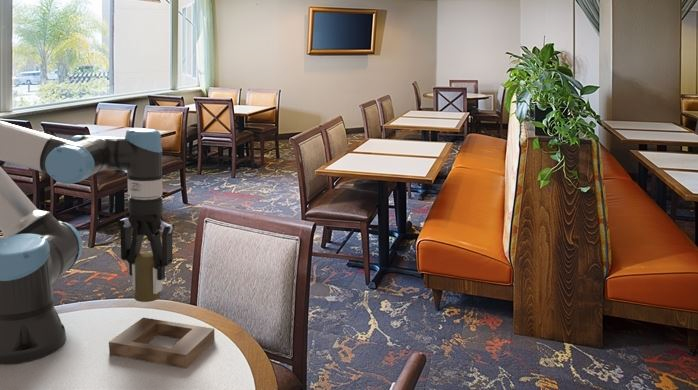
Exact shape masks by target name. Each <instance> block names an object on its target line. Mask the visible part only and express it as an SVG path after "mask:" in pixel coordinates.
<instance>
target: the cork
mask: <svg viewBox="0 0 698 390" xmlns="http://www.w3.org/2000/svg"><path fill="white" fill-rule="evenodd" d="M135 264H136V266H137V267H138V271H137V280H136V288H135V290H134V300H135V301H136V302H140V303H150V302H154V301H157V300H160V298H162V297H161V296H162V292H161V291H160V292H158V293H157V294H153V267H155V266H156V265H155V261H154V257H153V253H152V251H147V252H140V254H138V255H137V257H136V259H135Z"/></svg>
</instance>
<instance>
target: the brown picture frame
mask: <svg viewBox="0 0 698 390" xmlns="http://www.w3.org/2000/svg"><path fill="white" fill-rule="evenodd" d="M157 336H158V337H159V336H161V337H166V338H171V339H172V338H173V339H179V340H178V341H177V342H176V343H174V344H173V345H172V346H171V347H165V346H159V345H153V344H148V343H149V342H151V340H153V339H154V338H156V337H157ZM215 339H216V337H215V328H213V327H205V326H200V325H193V324H187V323H182V322H181V323H180V322H175V321H174V322H173V321H168V320H162V319H156V318H155V319H154V318H149V317H142V318H140V319H139V320H138V321H136V322H134V323H133V324H132V325H131V326H129V327H128V328H126V329H125V330H123V331H122V332H121V333H119V334H118V335H116V336H115V337H113V338H112V339H110V340H109V341H108V350H109V351H108V353H109V354H108V355H110V356H114V357H119V358H124V359H131V360H138V361H144V362H148V363H149V362H150V363H155V364H158V365H159V364H160V365H165V366H170V367H177V368H183V369H188V368H189V367H190V366H191V365H192V364H193V363H194V362H195V361H196V360H197V359H198V358H199V357H200V356H201V355H202V354H203V353H204V352H205V351H206V350H207V349H208V348H209V347H210V346H211V345H212V344H213V343H214V342H215Z"/></svg>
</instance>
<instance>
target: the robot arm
mask: <svg viewBox="0 0 698 390" xmlns="http://www.w3.org/2000/svg"><path fill="white" fill-rule="evenodd" d="M0 161H2V162H5V163H8V164H9V163H10V164H13V165H17V166H20V167H24V168H28V169H32V170H35V171H39V172H43V173H46V174H48V175H49V177H51V179H53V180H55V182H58V183H60V184H63V185H64V184H65V185H70V184H75V183H80V182H83V181H84V180H86V179H88V178H89V177H91V176H93V175H95V174H97V173H99V172H101V171H103V170H104V171H105V170H108V171H112V170H113V171H126V173H127V174H126V178H127V194H128V196H129V197H128V199H127V209H128V213H129V216H128V217H124V218H122V219H119V220H117V225H118V227H119V232H120V235H119V236H120V259H121V260H123V261H126V262H128V265H129V273H128V274H129V276H131V278H132V279H131V281H132V283H131V284H132V291H135V288H136V280H137V271H138V267H137V266H136V264H135V259H136V257H137V255H138V254H140V253H141V249H142V244H143V239H144V236H146V237H147V241H148V242H149V246H150V248H151V252H152V253H153V257H154V261H155V265H156V266H155V267H153V294H157V293H158V292H160V293H161V292H162V291H163V280H164V279H165V278H166V267H168V266H170V265H171V264H172V263H174V261H173V259H174V256H173V253H174V252H173V250H174V249H173V232H174V230H175V224H174V223H170V224H169V223H167V222H165V221H164V218H163V215H162V214H163V210H164V204H163V203H164V202H163V201H164V200H163V199H164V198H163V197H162V195H163V193H164V191H163V190H164V189H163V188H164V187H163V147H162V134H161V133H160V131H158V130H157V129H153V128H129V129H127V130H126V132H125V136H120V137H119V136H118V137H117V136H101V135H92V134H86V135H80V134H79V135H78V134H77V135H73V136H72V137H70V139H69V140H68V139H66V138H65V139H64V138H61V137H57V136H55V135H51V134H48V133H44V132H41V131H38V130H34V129H30V128H28V127H23V126H20V125H16V124H12V123H9V122H7V121H3V120H0ZM160 229H161V230H160ZM0 231H1V233H2V238H0V364H3V365H4V364H5V365H7V364H19V363H20V364H21V363H26V362H30V361H35V360H37V359H40V358H44V357H46V356H48V355H51V354H52V353H54V352H56V351H57V350H59V349H60V348H62V347H63V346H64V344H65V342H66V340H67V333H66V328H65V325H64V323H62V321H61V317H60V315H59V313H58V311H57V310H56V308H55V302H54V290H53V283H54V282H55V281H56V280H58V279H59V278H61V276H63V275H64V274H65V273H66V272H68V271H69V270H71V269H72V268H73V267H74V266H75V264H76V263H77V262H78V260H79V259H80V258H81V255H82V252H83V240H82V236H81V234H80V232H79V231H78V230H77V228H75V226H73V225H71V224H70V223H68V222H65V221H64V222H63V221H61V220H58V219H57V218H55V217H54V215H53V214H52V213H51V212H50V211H49V210H48V211H47V210H41V209H39V208H37V206H36V205H35V204H34V203H33V201H31V200H30V198H29V197H28V196H27V195H26V194H25V192H23V191H22V189H21V188H20V187H19V186H18V185H17V183H16V182H15V181H14V180H13V179H12V178H11V176H9V175H8V173H7V172H6V171H5V170H4V169H3V168H2V167H1V166H0ZM161 233H162V234H161Z"/></svg>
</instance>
